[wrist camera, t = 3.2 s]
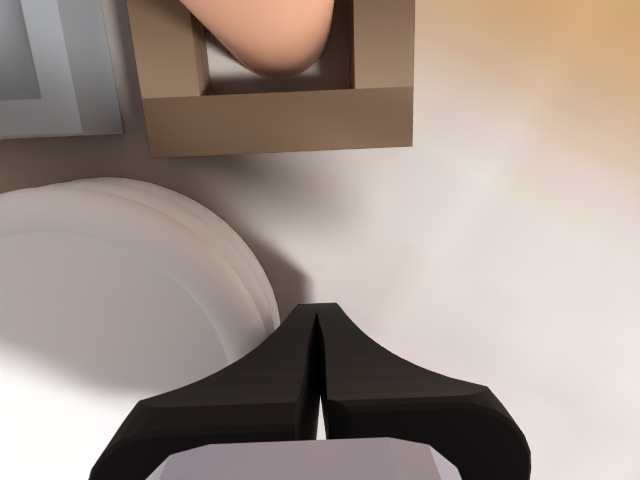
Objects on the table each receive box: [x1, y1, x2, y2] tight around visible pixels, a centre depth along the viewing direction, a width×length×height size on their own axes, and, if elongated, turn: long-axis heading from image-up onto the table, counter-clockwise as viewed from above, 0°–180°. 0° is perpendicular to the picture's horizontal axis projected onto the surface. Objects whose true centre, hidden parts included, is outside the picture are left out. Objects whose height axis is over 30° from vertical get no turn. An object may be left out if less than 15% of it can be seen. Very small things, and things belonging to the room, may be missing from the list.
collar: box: [126, 0, 415, 158], centre depth 10 cm, size 7×7×1 cm
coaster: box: [0, 177, 280, 480], centre depth 11 cm, size 10×10×4 cm
